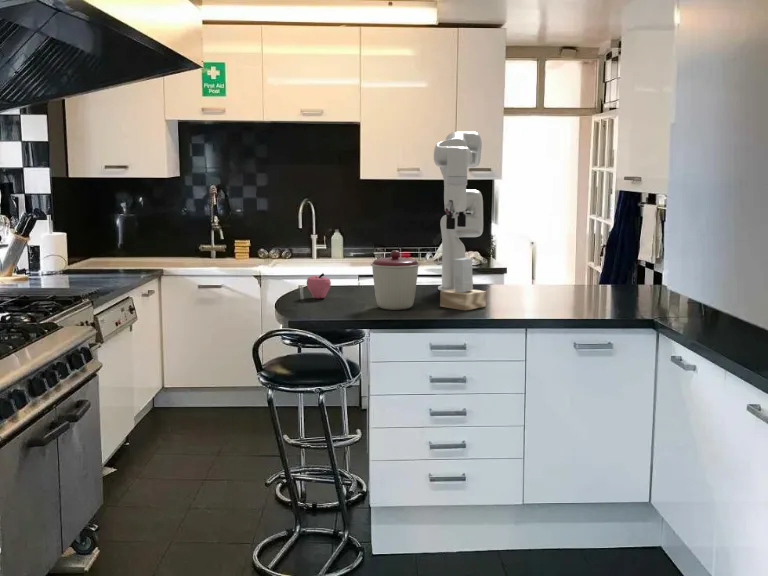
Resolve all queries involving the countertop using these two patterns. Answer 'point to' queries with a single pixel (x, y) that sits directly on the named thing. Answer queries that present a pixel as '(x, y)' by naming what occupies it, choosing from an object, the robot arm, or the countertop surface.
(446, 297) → the oak block
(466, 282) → the skincare box
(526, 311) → the countertop surface
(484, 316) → the countertop surface
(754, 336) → the countertop surface
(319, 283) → the apple
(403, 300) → the canister
